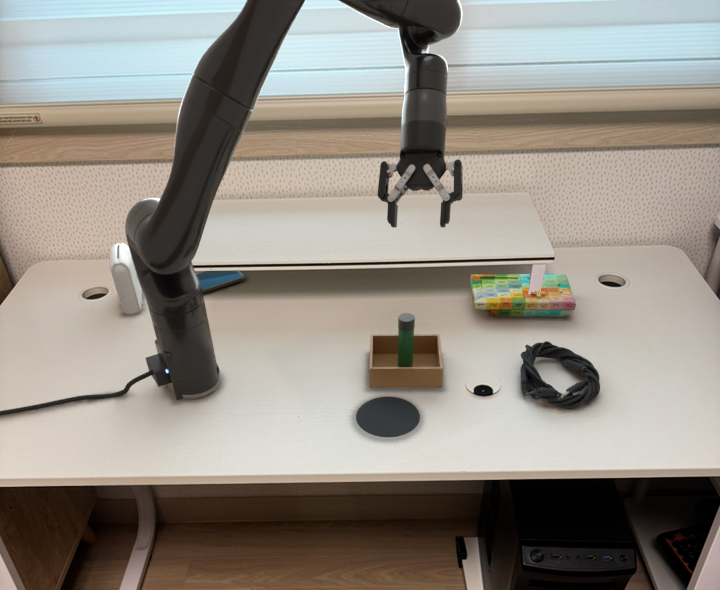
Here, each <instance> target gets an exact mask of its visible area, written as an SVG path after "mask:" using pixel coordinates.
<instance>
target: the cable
mask: <svg viewBox="0 0 720 590" xmlns="http://www.w3.org/2000/svg"><path fill="white" fill-rule="evenodd" d="M524 347H525V350H524V351H522V352H521V353H520V358H521V359H522V365H521V366H520V388H521V393H522V395H523V396H525V397H526V396H531V395H532V396H533V397H534V398H535V399H538V398H539V399H541V400H544V401H546V402H547V403H549V404H551V405H555V406H557V407H559V408H563V409H575V408H577V407H580V406H582V405H584V404H587V403H590V402H592V401H593V400H595V399H596V398H597V396H598V395H599V393H600V391H601V383H600V374H599V371H598V370H597V368H596V367H595V366H594V363H592V362H591V361H590V360H589V359H587V358H585V357H583V356H582V355H580V354H577V353H575V352H574V351H573V350H571V349H569V348H567V347H564V346H558V345H556V344H553V343H552V342H550V341H548V340H546V341H544V342H536V343H534V344H533V345H532V346H531V345H529V344H525V346H524ZM537 358H545V359H546V358H547V359H555V360H559V361H560V362H561V364H562V365H563V366H564V367H565V368H568V369H571V370H573V371H576V372H579V373H580V374H581V376H583V377H586V378H587V379H586V380H583V381H578V382H576V383H575V384H573V385H571V386H569V387H568V388H566V389H565V392H563V393H562V392H559V391H558V390H557V389H556V388H555V387H554V388H553V387H552V386H551V385H549V384H548V383H547V382H546V381H545V380H543V379H542V376H541V375H540V373H539V370H538V369H537V368H536V367H535V362H536V360H537ZM584 389H585V390H584ZM582 390H584V391H583V392H581V391H582ZM578 392H581V393H578Z"/></svg>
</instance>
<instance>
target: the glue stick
mask: <svg viewBox="0 0 720 590" xmlns="http://www.w3.org/2000/svg"><path fill="white" fill-rule="evenodd" d="M415 322H416V317H415V315H414V314H413V313H410V312H403V313H401V314H399V315H398V317H397V329H398V330H397V334H398V367H413V346H414V334H415V327H416V326H415V324H416V323H415Z"/></svg>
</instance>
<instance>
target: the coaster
mask: <svg viewBox="0 0 720 590" xmlns="http://www.w3.org/2000/svg"><path fill="white" fill-rule="evenodd" d="M355 420H356V423H357V425H358V426H359V427H360V428H361V429H362V431H364V432H365V433H367V434H370V435H372V436H374V437H380V438H396V437H401V436H404V435H408V434H409V433H410V432H412V431H414V430H415V428H416V427H417V426H418V425H419V423H420V420H421V414H420V411H419V409H418V408H417V407H416V405H414V404H413V403H412V402H410V401H409V400H407V399H404V398H402V397H396V396H380V397H375V398H371V399H369V400H367V401H365V402H364V403H363V404H361V405H360V407H359V408H358V410H357V411H356V414H355Z"/></svg>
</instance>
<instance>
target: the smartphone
mask: <svg viewBox="0 0 720 590" xmlns="http://www.w3.org/2000/svg"><path fill="white" fill-rule="evenodd" d="M196 274H197V277H198V279H199V281H200V283H201V287H202V292H203V294H207V293H209V292H212V291H216V290H219V289H221V288H224V287H227V286H230V285H233V284H237V283H240V282H242V281H244V280H245V279H246V276H245V274H244V273H242V272H241V271H240V270H239V271H230V272H229V271H208V270H205V271H202V272H198V273H196Z"/></svg>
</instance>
